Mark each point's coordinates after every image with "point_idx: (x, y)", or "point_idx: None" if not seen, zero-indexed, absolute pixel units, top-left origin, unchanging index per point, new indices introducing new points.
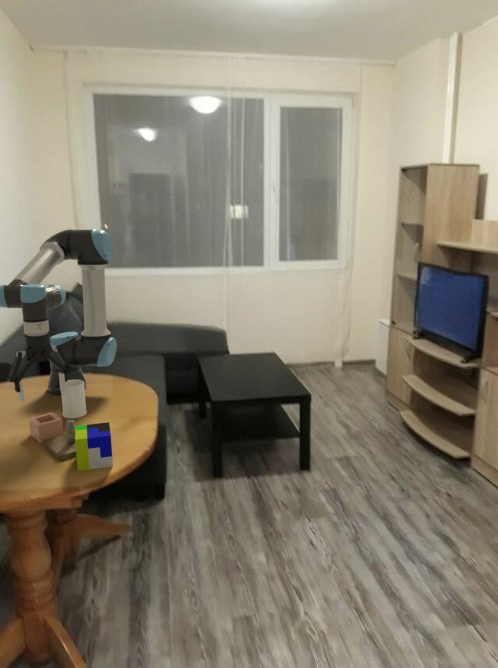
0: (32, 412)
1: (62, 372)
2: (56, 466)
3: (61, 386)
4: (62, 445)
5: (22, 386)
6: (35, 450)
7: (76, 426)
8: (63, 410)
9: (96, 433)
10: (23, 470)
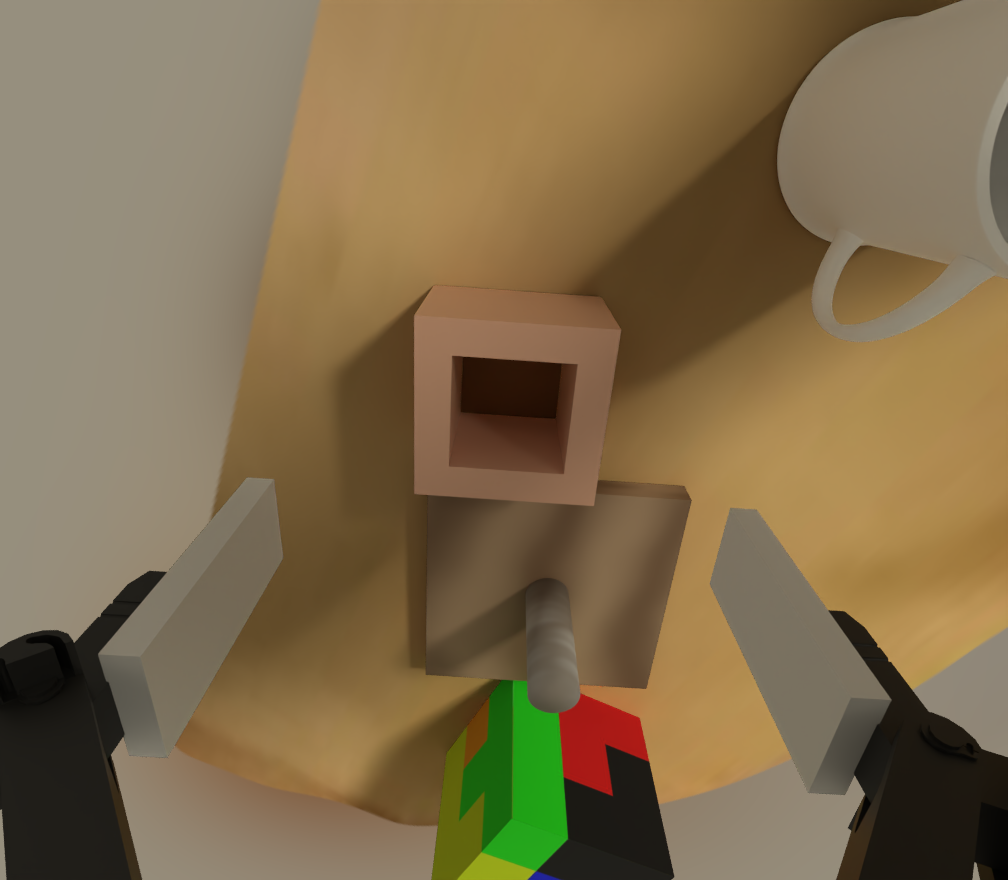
0: None
1: (867, 759)
2: (395, 683)
3: (743, 587)
4: (488, 599)
5: (191, 705)
6: (377, 500)
7: (512, 826)
8: (812, 122)
9: None
10: (267, 631)
